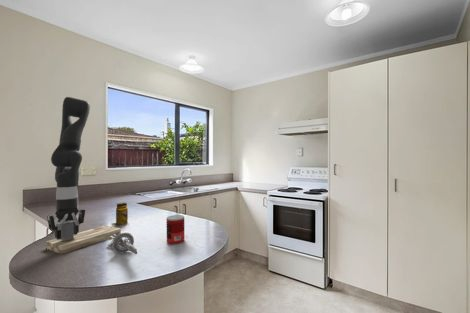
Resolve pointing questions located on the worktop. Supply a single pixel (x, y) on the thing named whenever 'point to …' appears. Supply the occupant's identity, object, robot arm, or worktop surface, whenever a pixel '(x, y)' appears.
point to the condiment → (121, 215)
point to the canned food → (175, 229)
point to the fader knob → (67, 231)
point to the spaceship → (123, 243)
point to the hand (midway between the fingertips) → (67, 236)
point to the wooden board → (82, 239)
